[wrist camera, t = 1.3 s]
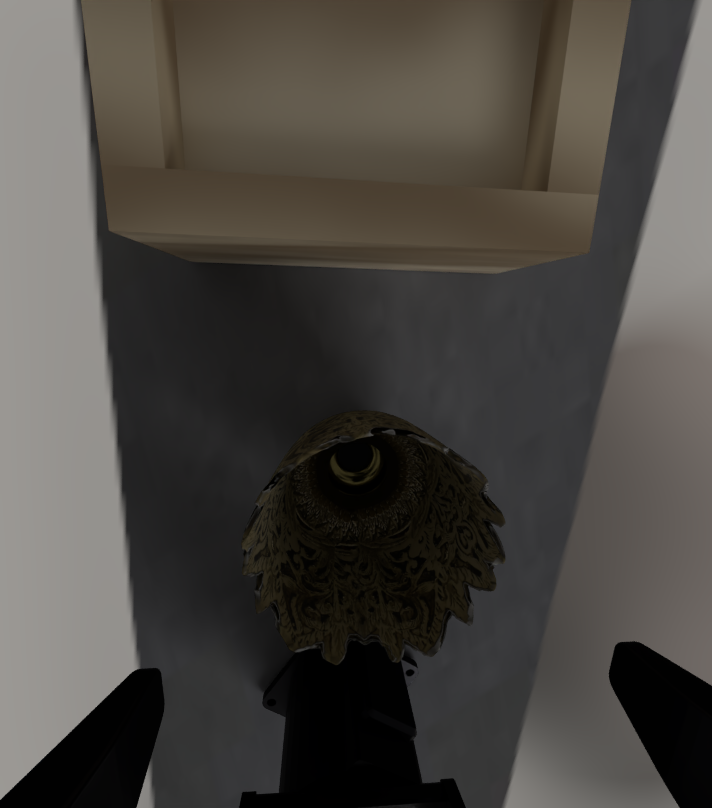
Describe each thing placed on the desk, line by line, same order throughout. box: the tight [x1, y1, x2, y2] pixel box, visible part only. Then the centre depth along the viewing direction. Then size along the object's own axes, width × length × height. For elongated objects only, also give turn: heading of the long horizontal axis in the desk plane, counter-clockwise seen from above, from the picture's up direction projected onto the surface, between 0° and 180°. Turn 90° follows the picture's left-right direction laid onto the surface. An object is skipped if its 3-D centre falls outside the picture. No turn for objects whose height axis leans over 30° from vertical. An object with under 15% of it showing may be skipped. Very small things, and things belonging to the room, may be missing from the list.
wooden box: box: [81, 0, 631, 274], centre depth 11 cm, size 13×13×6 cm
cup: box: [241, 410, 506, 665], centre depth 14 cm, size 8×7×8 cm
